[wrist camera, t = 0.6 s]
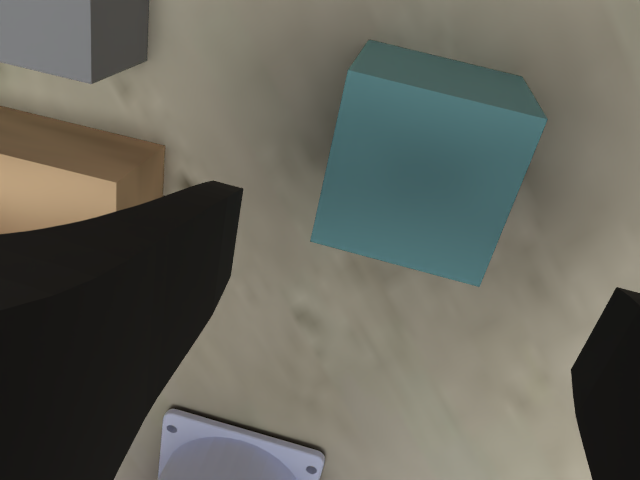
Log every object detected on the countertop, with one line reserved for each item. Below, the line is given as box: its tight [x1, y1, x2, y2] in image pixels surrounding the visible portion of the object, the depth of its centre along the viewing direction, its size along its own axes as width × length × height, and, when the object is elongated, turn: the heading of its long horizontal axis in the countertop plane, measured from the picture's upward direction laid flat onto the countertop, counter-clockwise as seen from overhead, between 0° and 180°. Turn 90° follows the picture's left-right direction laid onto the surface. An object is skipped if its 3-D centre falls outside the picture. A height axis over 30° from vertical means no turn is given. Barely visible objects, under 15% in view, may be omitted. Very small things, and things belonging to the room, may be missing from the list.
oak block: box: [0, 106, 165, 234], centre depth 22 cm, size 8×8×4 cm
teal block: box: [310, 40, 548, 287], centre depth 17 cm, size 5×5×5 cm
